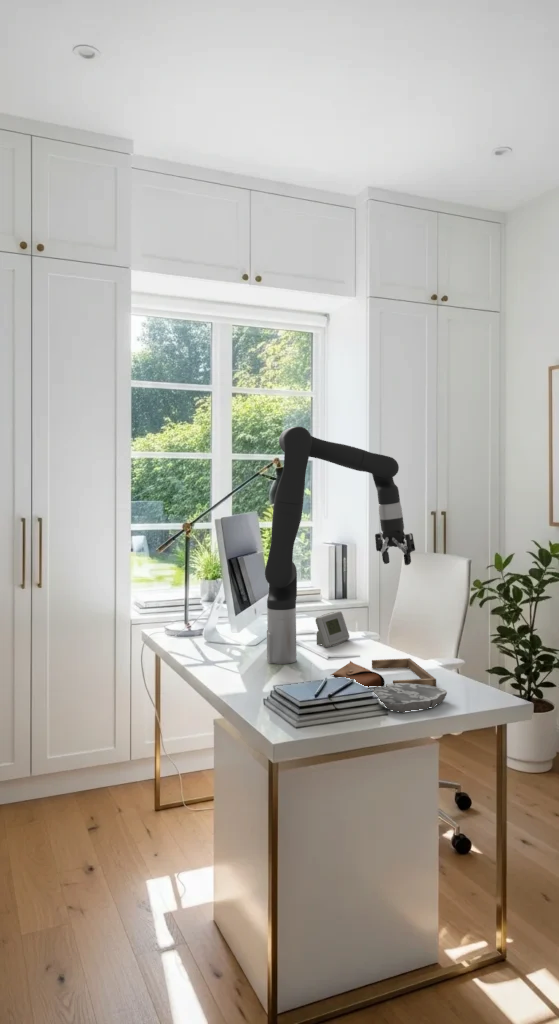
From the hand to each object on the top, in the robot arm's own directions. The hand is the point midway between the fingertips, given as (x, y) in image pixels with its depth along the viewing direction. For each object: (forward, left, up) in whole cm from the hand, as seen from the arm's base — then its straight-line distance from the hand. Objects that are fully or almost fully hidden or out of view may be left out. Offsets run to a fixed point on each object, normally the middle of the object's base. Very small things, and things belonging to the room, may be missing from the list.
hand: (397, 564), depth 237 cm
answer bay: (-8, -30, -30) cm, 43 cm away
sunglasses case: (-21, -30, -30) cm, 48 cm away
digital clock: (-19, +18, -30) cm, 39 cm away
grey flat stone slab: (-14, -53, -30) cm, 63 cm away
